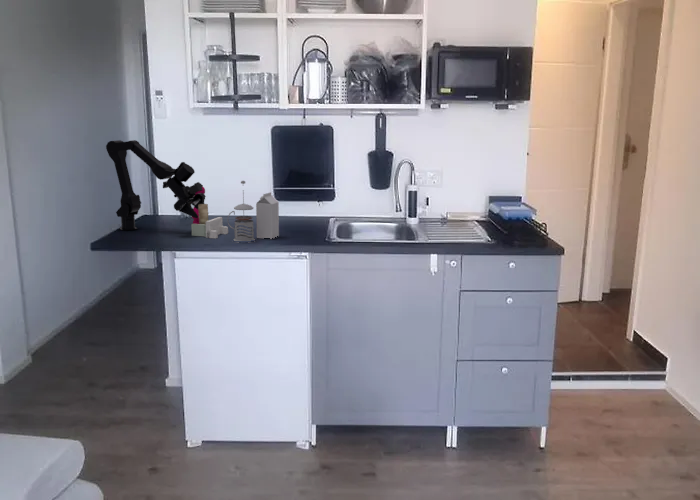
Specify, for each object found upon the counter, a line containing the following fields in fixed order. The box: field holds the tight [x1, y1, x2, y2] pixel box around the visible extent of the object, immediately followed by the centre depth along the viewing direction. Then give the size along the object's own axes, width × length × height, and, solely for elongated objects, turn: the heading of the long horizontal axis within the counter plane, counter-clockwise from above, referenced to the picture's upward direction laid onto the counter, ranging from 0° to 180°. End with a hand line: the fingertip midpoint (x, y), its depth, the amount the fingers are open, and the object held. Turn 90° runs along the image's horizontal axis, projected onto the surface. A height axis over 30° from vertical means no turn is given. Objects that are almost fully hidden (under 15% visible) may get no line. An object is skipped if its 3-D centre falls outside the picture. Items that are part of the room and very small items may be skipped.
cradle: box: [190, 223, 206, 238], centre depth 276 cm, size 8×9×5 cm
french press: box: [227, 180, 256, 241], centre depth 263 cm, size 10×12×25 cm
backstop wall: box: [205, 216, 229, 239], centre depth 274 cm, size 4×12×7 cm, turn 165°
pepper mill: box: [191, 186, 206, 224], centre depth 298 cm, size 7×7×20 cm
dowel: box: [198, 203, 210, 225], centre depth 275 cm, size 4×4×12 cm
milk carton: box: [255, 191, 280, 240], centre depth 271 cm, size 7×7×19 cm
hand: (202, 216), depth 275 cm, fingers open, 9 cm apart
